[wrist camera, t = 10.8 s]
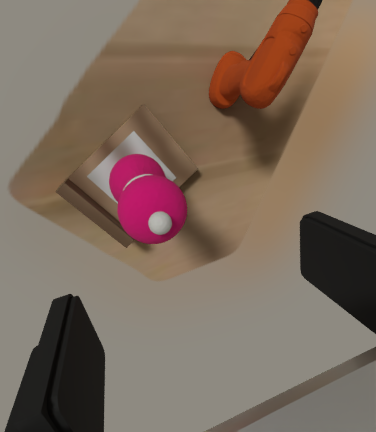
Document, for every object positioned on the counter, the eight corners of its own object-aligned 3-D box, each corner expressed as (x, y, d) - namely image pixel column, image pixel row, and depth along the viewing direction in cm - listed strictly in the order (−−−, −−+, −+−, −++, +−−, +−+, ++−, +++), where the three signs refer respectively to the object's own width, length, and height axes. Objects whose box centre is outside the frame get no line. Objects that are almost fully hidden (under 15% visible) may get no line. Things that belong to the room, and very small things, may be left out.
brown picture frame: (142, 104, 35) (147, 101, 30) (194, 166, 40) (205, 171, 36) (61, 183, 35) (55, 191, 31) (124, 234, 40) (126, 247, 36)
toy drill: (292, -20, 34) (400, -90, 21) (226, 113, 40) (278, 124, 27) (266, -46, 32) (366, -140, 19) (200, 98, 38) (243, 102, 25)
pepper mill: (145, 208, 38) (179, 282, 20) (99, 187, 35) (91, 252, 17) (168, 166, 37) (226, 205, 19) (123, 141, 34) (140, 158, 16)
